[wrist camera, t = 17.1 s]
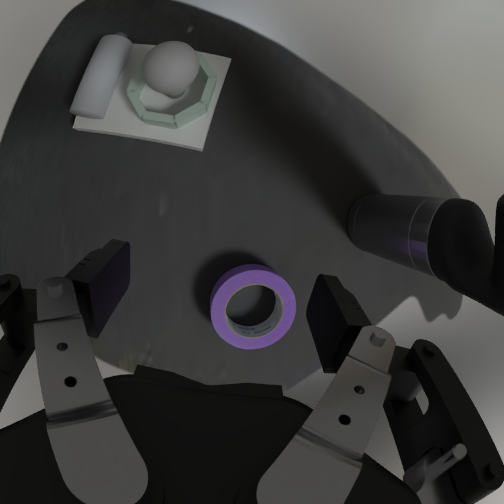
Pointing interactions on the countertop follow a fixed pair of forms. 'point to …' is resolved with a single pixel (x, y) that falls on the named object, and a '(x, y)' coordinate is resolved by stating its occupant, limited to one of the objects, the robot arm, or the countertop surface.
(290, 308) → the masking tape
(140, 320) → the countertop surface
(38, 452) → the robot arm
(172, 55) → the lightbulb
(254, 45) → the countertop surface
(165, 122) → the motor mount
